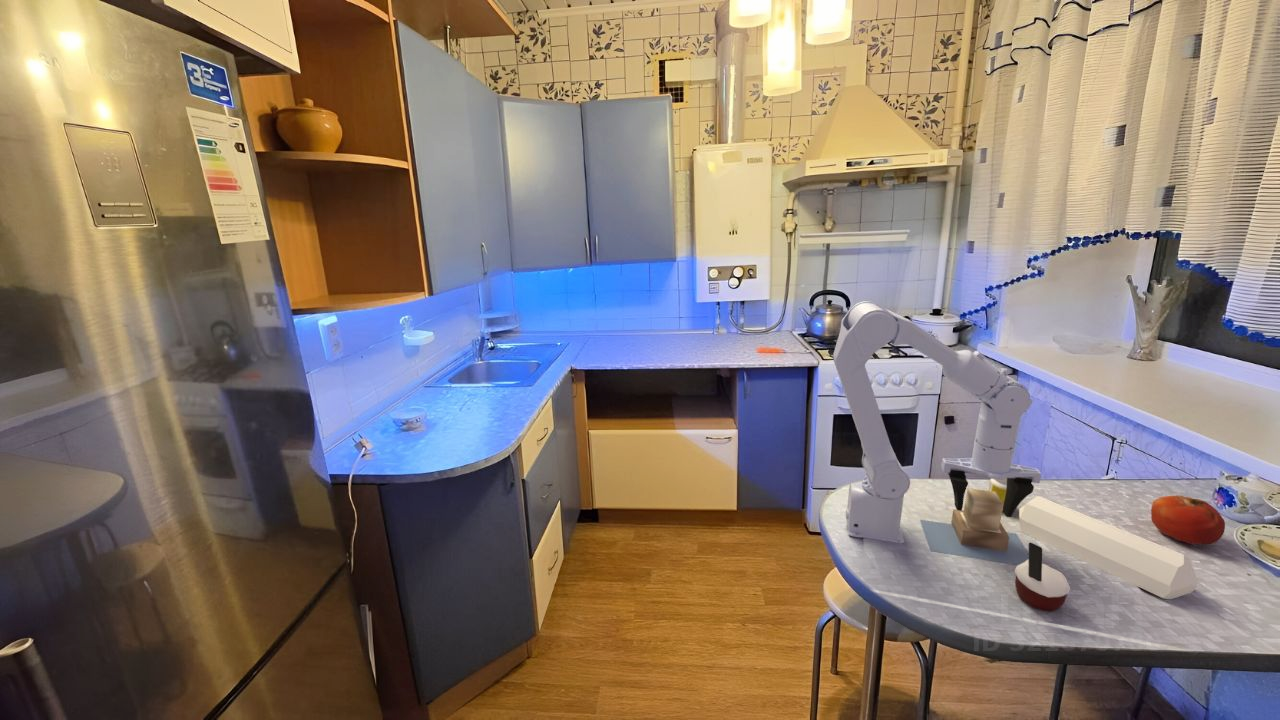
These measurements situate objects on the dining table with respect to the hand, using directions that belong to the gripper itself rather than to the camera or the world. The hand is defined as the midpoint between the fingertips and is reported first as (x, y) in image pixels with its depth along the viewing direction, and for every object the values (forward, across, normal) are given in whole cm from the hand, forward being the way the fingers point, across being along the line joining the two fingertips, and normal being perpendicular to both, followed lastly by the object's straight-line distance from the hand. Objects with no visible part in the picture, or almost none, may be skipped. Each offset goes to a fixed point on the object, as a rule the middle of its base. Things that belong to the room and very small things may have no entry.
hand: (982, 510), depth 90 cm
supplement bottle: (+6, +7, +12) cm, 15 cm away
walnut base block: (+5, 0, 0) cm, 5 cm away
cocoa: (+6, +4, -15) cm, 17 cm away
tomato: (+6, +35, +11) cm, 37 cm away
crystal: (+6, +18, 0) cm, 19 cm away
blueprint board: (+6, -1, -2) cm, 6 cm away
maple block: (+2, 0, 0) cm, 2 cm away
